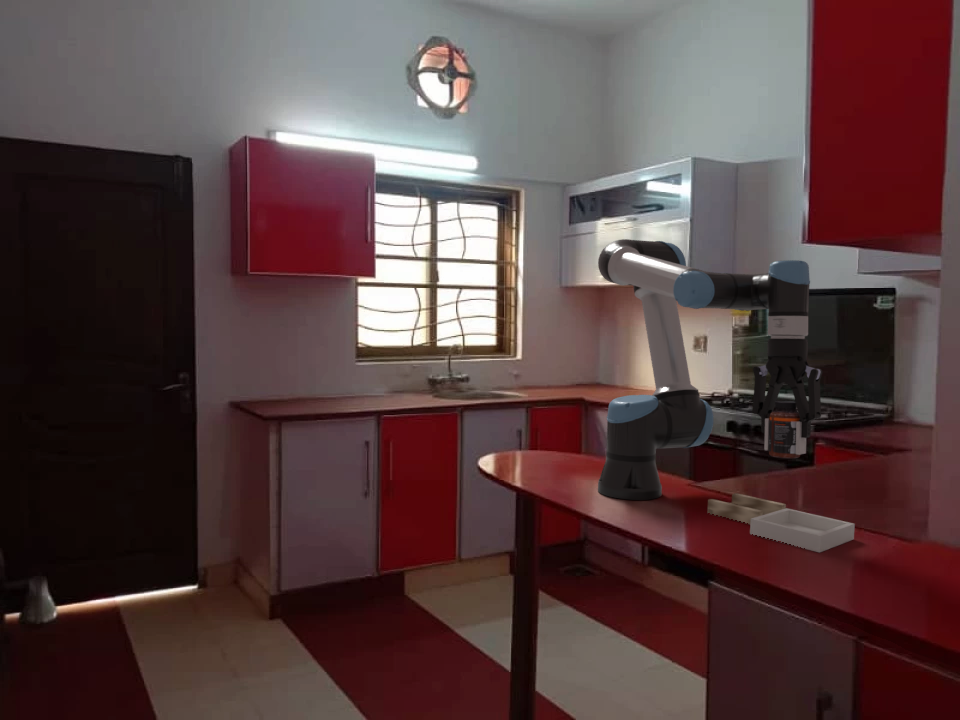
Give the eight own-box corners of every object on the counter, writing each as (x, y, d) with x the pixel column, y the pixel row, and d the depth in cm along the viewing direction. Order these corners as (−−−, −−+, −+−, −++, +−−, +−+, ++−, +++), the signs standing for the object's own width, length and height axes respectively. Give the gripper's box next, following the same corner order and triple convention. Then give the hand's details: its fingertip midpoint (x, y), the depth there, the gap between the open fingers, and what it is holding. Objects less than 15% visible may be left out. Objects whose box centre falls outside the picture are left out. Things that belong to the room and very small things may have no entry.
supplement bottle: (803, 459, 147) (804, 402, 147) (771, 458, 148) (773, 402, 148) (796, 455, 153) (797, 400, 153) (766, 454, 154) (767, 399, 154)
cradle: (707, 513, 162) (707, 499, 162) (735, 506, 169) (735, 493, 169) (758, 526, 153) (758, 512, 153) (785, 517, 160) (785, 504, 160)
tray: (749, 534, 148) (750, 518, 147) (785, 522, 156) (786, 508, 156) (819, 552, 137) (820, 536, 137) (853, 539, 146) (854, 523, 145)
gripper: (735, 337, 155) (732, 447, 156) (825, 337, 140) (822, 459, 141) (754, 337, 160) (751, 444, 160) (843, 338, 145) (840, 456, 146)
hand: (784, 451), depth 151 cm, fingers closed on supplement bottle, 6 cm apart
